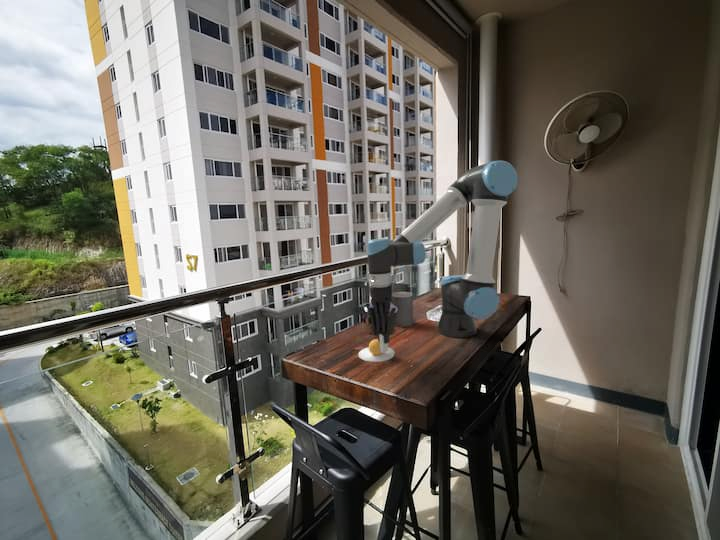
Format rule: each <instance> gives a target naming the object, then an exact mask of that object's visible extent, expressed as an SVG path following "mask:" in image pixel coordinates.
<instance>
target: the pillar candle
mask: <svg viewBox="0 0 720 540" xmlns="http://www.w3.org/2000/svg"><path fill="white" fill-rule="evenodd" d="M413 295H414V294H413V293H412V292H407V291H396V292H392V297H391V299H392V301H393V305H394V306H396V307H397V306H398V307H399V310H398V312H397V314H396V321H395V327H396V328H397V327H398V328H407V327H411V326H413V324H414V303H413V302H414V301H413V300H414V296H413Z"/></svg>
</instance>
